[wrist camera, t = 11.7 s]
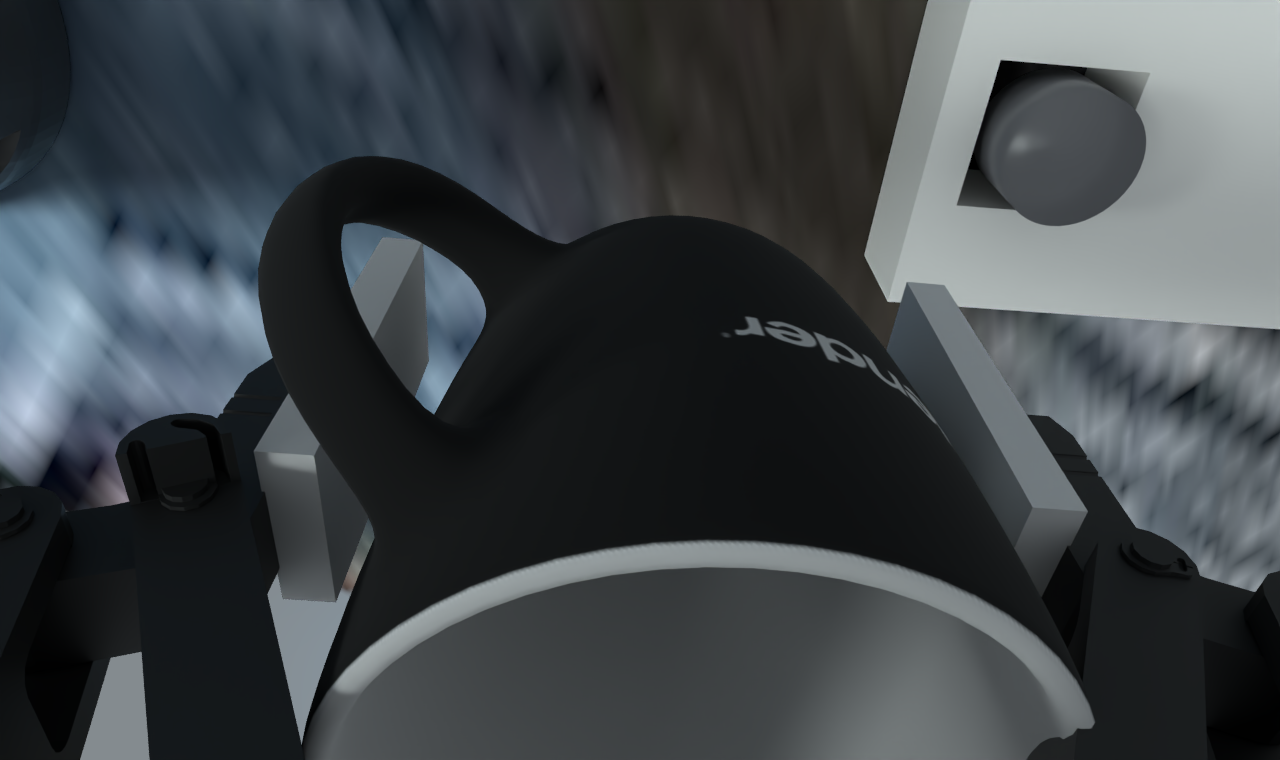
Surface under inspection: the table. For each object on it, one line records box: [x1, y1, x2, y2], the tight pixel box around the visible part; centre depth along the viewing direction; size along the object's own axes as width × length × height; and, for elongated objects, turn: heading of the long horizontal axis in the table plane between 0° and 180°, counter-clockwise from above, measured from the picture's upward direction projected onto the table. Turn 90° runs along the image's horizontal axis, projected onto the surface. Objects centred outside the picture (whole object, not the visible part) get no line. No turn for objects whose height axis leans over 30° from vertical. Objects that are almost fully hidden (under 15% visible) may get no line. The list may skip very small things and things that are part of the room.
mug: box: [258, 156, 1095, 760], centre depth 13 cm, size 12×9×10 cm
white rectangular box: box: [864, 0, 1280, 329], centre depth 31 cm, size 22×13×4 cm, turn 85°
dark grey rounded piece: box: [974, 68, 1146, 226], centre depth 29 cm, size 4×4×3 cm
